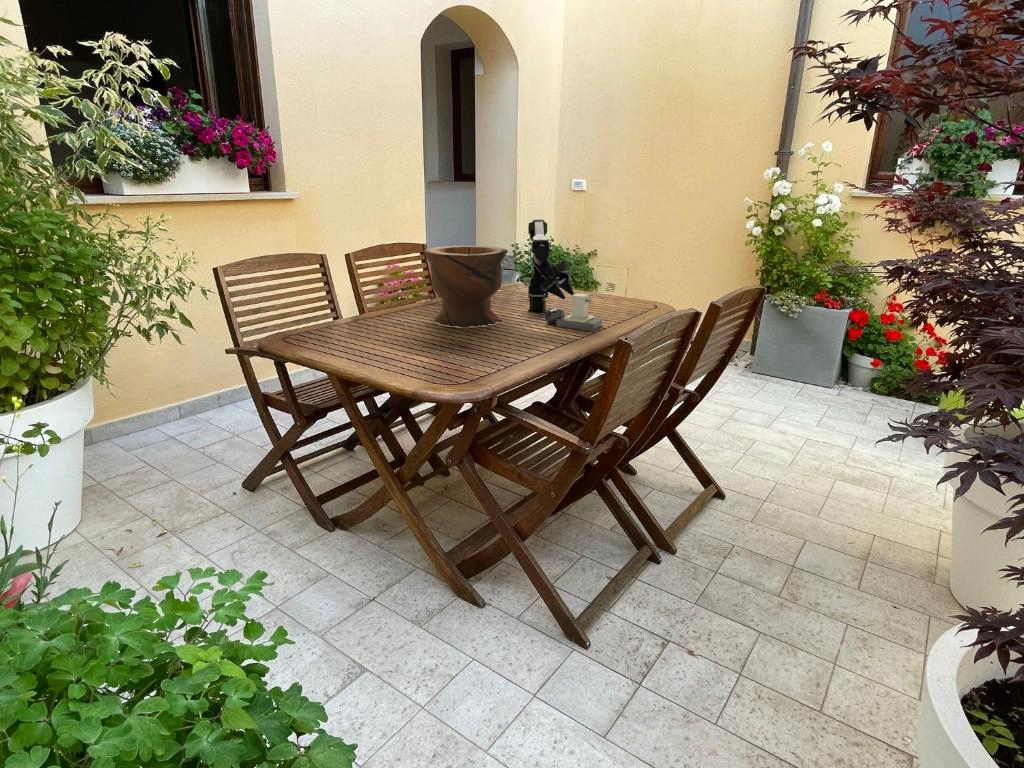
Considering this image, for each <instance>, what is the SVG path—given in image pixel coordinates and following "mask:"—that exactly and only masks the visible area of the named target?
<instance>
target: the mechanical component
mask: <svg viewBox="0 0 1024 768" xmlns="http://www.w3.org/2000/svg"><path fill="white" fill-rule="evenodd" d="M531 278H532V277H523V278H522V279H521V282H522V283H523V285H524V287H528V285H530V280H531ZM527 281H528V282H527Z"/></svg>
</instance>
